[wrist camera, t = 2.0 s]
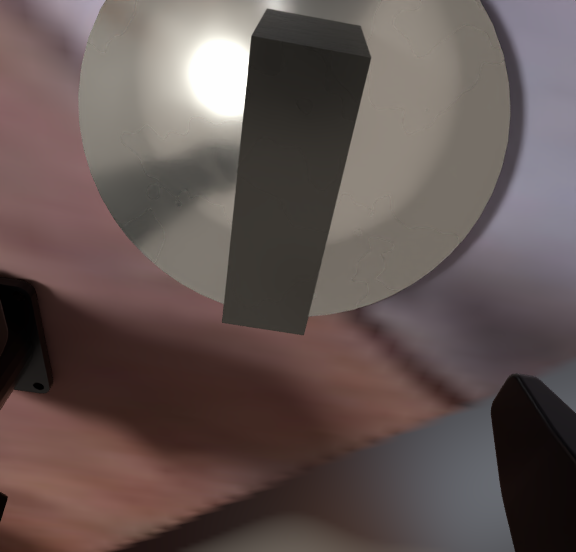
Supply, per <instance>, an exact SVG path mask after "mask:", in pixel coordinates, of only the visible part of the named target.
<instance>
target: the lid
mask: <svg viewBox="0 0 576 552" xmlns="http://www.w3.org/2000/svg"><path fill="white" fill-rule="evenodd" d="M78 98H79V124H80V130H81V136H82V142H83V148H84V152H85V155H86V158H87V162H88V165H89V168H90V172H91V175H92V177H93V179H94V182H95V184H96V186H97V189H98V191H99V193H100V195H101V198H102V199H103V201H104V203H105V204H106V206H107V208H108V210H109V211H110V213H111V215H112V216H113V218H114V220H115V221H116V222H117V224H118V225H119V226H120V228H121V229H122V230H123V232H124V233H125V234H126V236H127V237H128V238H129V239H130V240H131V241H132V242H133V244H134V245H135V246H136V247H137V248H138V249H139V250H140V251H141V252H142V253H143V254H144V255H145V256H146V257H147V258H148V259H149V260H151V261H152V262H153V263H154V264H155V265H156V266H158V267H159V268H160V269H161V270H162V271H164V272H165V273H167V274H168V275H169V276H171V277H172V278H174V279H175V280H177V281H178V282H180V283H181V284H183V285H185V286H186V287H188V288H190V289H192V290H194V291H196V292H197V293H199V294H201V295H203V296H206V297H208V298H210V299H213V300H215V301H218V302H220V303H223V304H224V308H223V318H222V323H228V324H234V325H240V326H247V327H253V328H260V329H266V330H273V331H279V332H286V333H292V334H299V335H304V332H305V328H306V324H307V320H308V316H318V315H329V314H334V313H339V312H344V311H349V310H353V309H357V308H360V307H363V306H366V305H370V304H373V303H375V302H377V301H380V300H382V299H385V298H387V297H389V296H392V295H394V294H396V293H397V292H399V291H401V290H403V289H405V288H406V287H408V286H410V285H412V284H413V283H415V282H416V281H418V280H419V279H421V278H422V277H423V276H425V275H426V274H428V273H429V272H431V271H432V270H433V269H434V268H435V267H436V266H438V265H439V264H440V263H441V262H442V261H443V260H444V259H445V258H447V257H448V256H449V255H450V254H451V253H452V252H453V250H454V249H455V248H456V247H457V246H458V245H459V244H460V243H461V242H462V240H463V239H464V238H465V237H466V236H467V234H468V233H469V231H470V230H471V229H472V227H473V226H474V224H475V223H476V222H477V220H478V219H479V217H480V216H481V214H482V212H483V210H484V208H485V206H486V204H487V202H488V201H489V199H490V197H491V195H492V193H493V190H494V188H495V185H496V182H497V180H498V177H499V174H500V172H501V169H502V165H503V161H504V156H505V152H506V148H507V144H508V135H509V125H510V114H511V113H510V92H509V81H508V76H507V71H506V65H505V60H504V55H503V52H502V49H501V46H500V43H499V41H498V38H497V35H496V32H495V29H494V26H493V24H492V22H491V20H490V18H489V16H488V15H487V13H486V11H485V9H484V7H483V5H482V3H481V1H480V0H106V1H105V3H104V4H103V6H102V7H101V9H100V11H99V14H98V16H97V19H96V21H95V23H94V26H93V28H92V31H91V33H90V36H89V38H88V42H87V46H86V50H85V54H84V58H83V62H82V66H81V75H80V85H79V94H78Z"/></svg>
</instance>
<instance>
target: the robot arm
mask: <svg viewBox="0 0 576 552" xmlns="http://www.w3.org/2000/svg"><path fill="white" fill-rule="evenodd" d="M19 292H21V293H22V294H20V293H19ZM52 385H53V377H52V372H51V367H50V362H49V357H48V352H47V347H46V342H45V337H44V332H43V327H42V322H41V317H40V311H39V306H38V301H37V296H36V292H35V289H34V288H33V287H32V286H31V285H30V284H29V283H27V282H25V281H22V280H15V279H9V278H3V277H0V410H1V408H2V407H3V405H4V403H5V402H6V400H7V399H8V397H9V396H10V394H11V393H12V391H13V389H14V390H21V391H28V392H35V393H47V392H48V391H49V390H50V388H51V386H52ZM491 418H492V427H493V434H494V442H495V450H496V457H497V465H498V472H499V481H500V487H501V493H502V497H503V503H504V507H505V512H506V516H507V520H508V524H509V528H510V532H511V536H512V541H513V545H514V549H515V552H576V413H575V412H574V411H573V410H572V409H571V408H569V407H568V406H567V405H566V404H565V403H564V402H563V401H562V400H561V399H560V398H559V397H558V396H557V395H556V394H554V392H552V391H551V390H550V389H549V388H548V387H547V386H546V385H545V384H544V383H543V382H542V381H541V380H539V379H538V378H537V377H534V376H530V375H523V374H512V375H511V376H509V377H508V379H507V380H506V382H505V383H504V385H503V387H502V388H501V390H500V391H499V393H498V394H497V396H496V398H495V399H494V401H493V403H492V407H491ZM7 498H8V497H7V496H6V495H5V494H3V493H2V492H0V521H1V518H2V515H3V512H4V508H5V505H6V502H7Z"/></svg>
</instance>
